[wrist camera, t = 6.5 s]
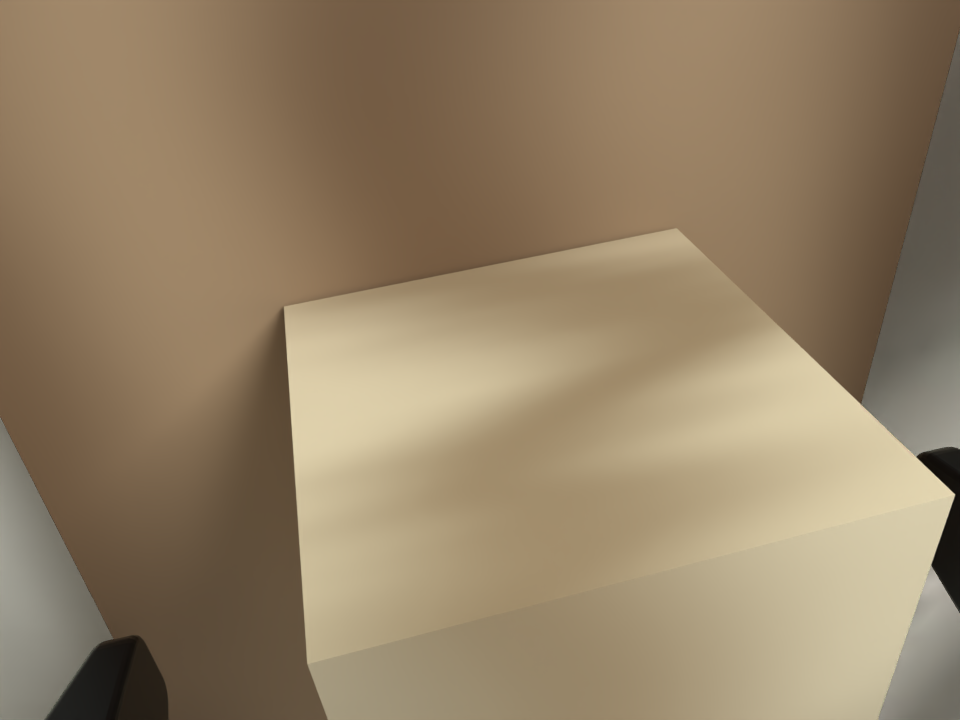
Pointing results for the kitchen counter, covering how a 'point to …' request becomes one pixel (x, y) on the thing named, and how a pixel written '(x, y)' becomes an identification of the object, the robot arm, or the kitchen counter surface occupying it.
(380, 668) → the beech cube
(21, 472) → the kitchen counter surface
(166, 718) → the robot arm
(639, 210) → the walnut block
